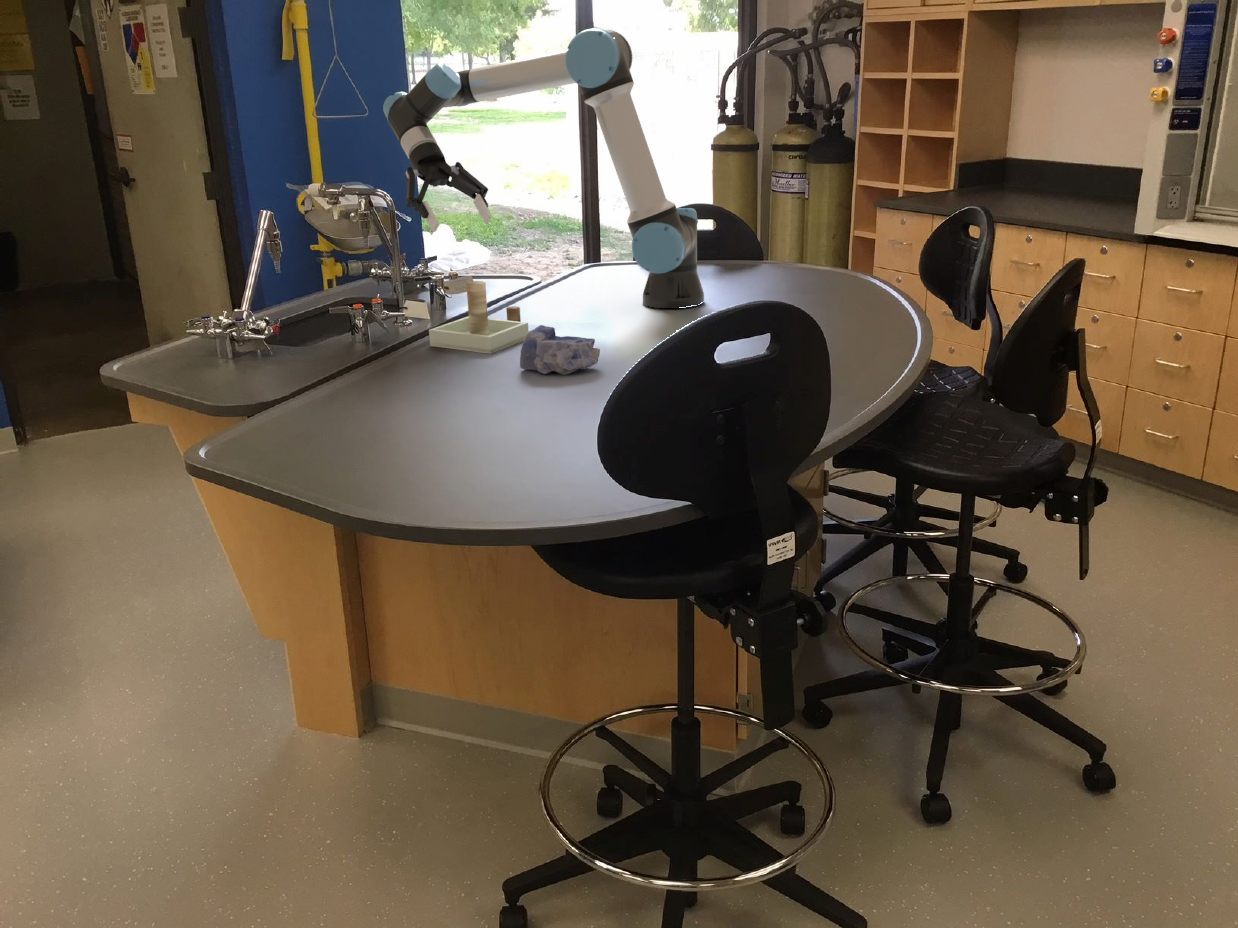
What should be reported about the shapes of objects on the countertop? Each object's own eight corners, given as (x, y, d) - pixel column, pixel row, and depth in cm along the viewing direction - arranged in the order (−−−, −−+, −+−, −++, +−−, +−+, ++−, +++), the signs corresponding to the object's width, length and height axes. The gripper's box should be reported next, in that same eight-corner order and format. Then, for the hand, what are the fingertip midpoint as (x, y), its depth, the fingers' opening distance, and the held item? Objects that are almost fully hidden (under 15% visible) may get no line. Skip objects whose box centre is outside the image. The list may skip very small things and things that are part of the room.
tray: (529, 338, 220) (528, 322, 219) (490, 353, 209) (489, 337, 208) (470, 331, 228) (469, 316, 227) (430, 345, 217) (428, 329, 215)
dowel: (492, 337, 219) (489, 282, 215) (481, 341, 216) (477, 285, 211) (477, 335, 221) (474, 280, 216) (466, 339, 217) (462, 284, 213)
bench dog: (523, 328, 229) (522, 307, 227) (516, 331, 226) (514, 309, 224) (512, 327, 230) (511, 305, 228) (505, 330, 228) (503, 308, 226)
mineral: (515, 329, 190) (538, 314, 199) (515, 376, 195) (537, 359, 203) (586, 343, 186) (606, 327, 195) (584, 390, 191) (603, 373, 199)
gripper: (465, 159, 242) (504, 227, 237) (369, 168, 228) (408, 242, 223) (475, 136, 236) (515, 206, 231) (377, 144, 222) (417, 219, 217)
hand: (463, 224), depth 227 cm, fingers open, 13 cm apart
